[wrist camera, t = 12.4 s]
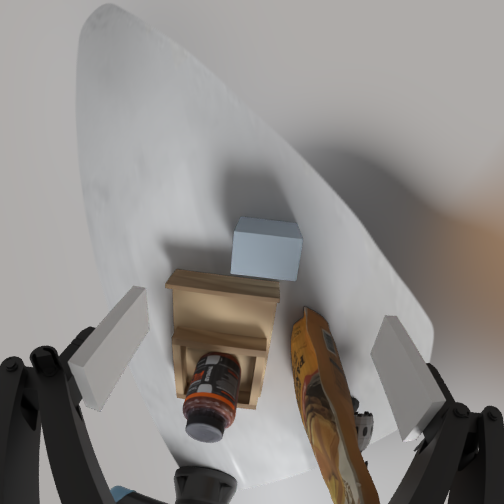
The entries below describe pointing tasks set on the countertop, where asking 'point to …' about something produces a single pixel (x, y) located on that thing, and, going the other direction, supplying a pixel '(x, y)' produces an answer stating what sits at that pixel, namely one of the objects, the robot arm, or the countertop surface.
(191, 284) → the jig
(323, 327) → the pancake mix bag
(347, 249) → the countertop surface
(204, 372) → the supplement bottle
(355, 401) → the robot
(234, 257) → the wing block
